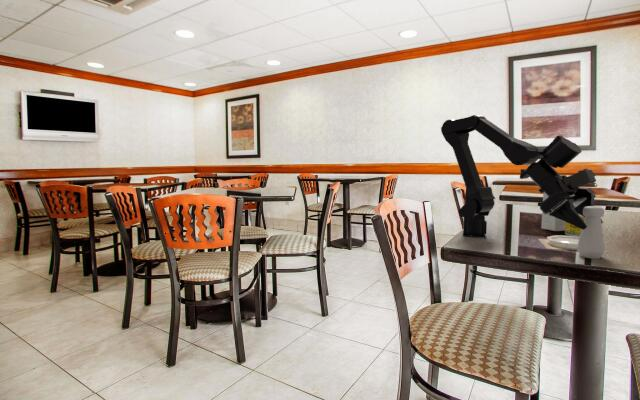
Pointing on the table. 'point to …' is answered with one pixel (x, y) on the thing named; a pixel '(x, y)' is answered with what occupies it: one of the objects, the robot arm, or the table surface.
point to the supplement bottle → (573, 228)
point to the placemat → (545, 243)
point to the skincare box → (551, 221)
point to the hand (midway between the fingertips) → (593, 226)
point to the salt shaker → (592, 234)
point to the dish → (563, 241)
